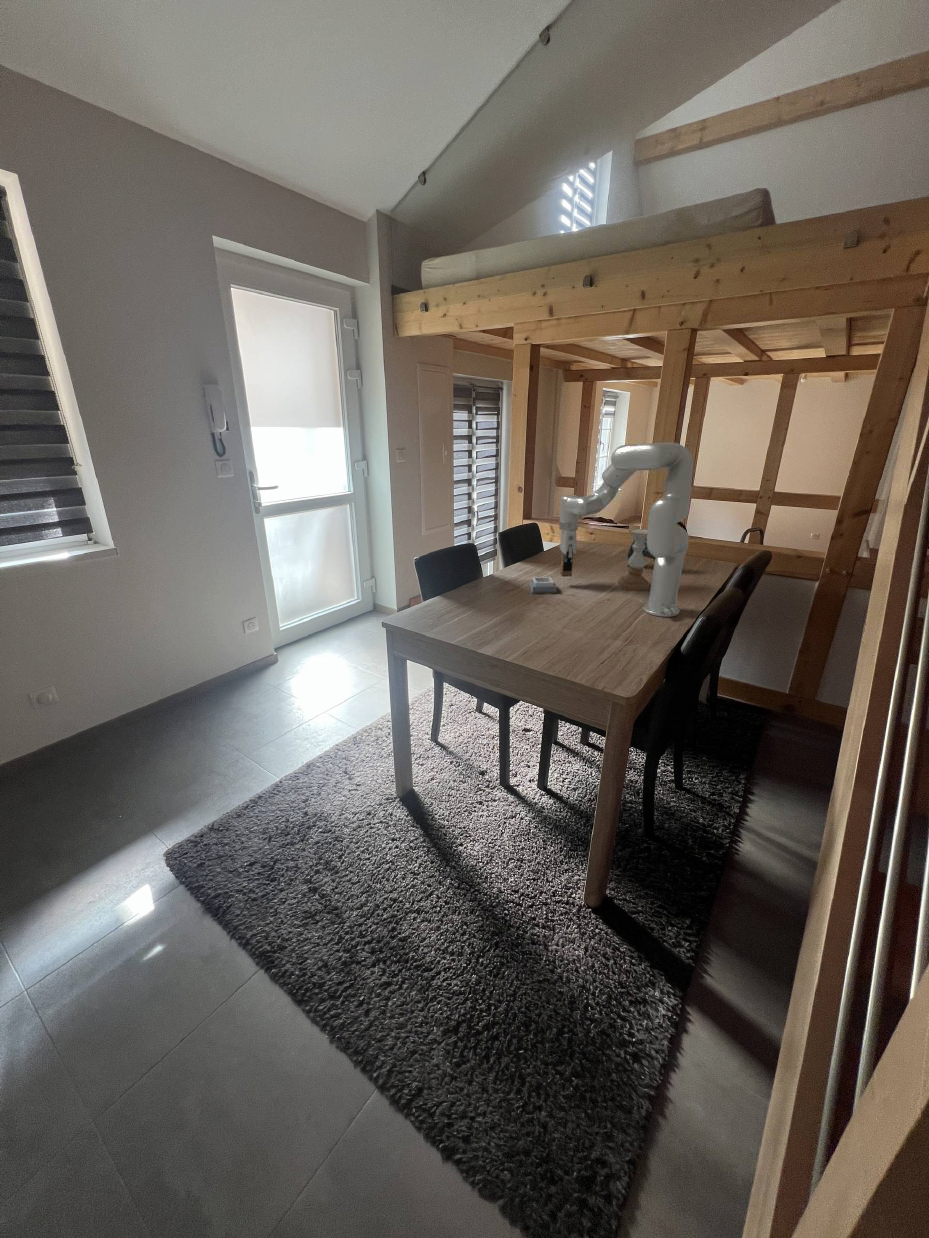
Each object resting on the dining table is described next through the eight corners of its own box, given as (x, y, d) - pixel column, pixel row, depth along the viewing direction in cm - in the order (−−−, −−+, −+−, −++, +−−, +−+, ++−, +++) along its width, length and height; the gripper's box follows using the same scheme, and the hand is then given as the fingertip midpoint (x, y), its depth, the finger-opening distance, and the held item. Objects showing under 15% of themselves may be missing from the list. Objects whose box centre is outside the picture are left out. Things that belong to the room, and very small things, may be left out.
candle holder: (650, 590, 207) (658, 534, 198) (624, 590, 207) (631, 534, 198) (642, 582, 217) (649, 528, 208) (617, 582, 217) (623, 528, 208)
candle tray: (556, 593, 203) (557, 583, 201) (532, 593, 203) (532, 583, 201) (552, 586, 212) (552, 576, 210) (528, 586, 212) (529, 576, 210)
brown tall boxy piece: (571, 576, 208) (573, 548, 204) (562, 576, 208) (563, 548, 204) (569, 573, 212) (571, 546, 208) (560, 574, 212) (561, 546, 207)
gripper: (582, 529, 195) (579, 574, 201) (573, 522, 210) (570, 564, 217) (563, 530, 195) (561, 574, 201) (555, 522, 210) (553, 564, 217)
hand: (566, 568), depth 209 cm, fingers closed on brown tall boxy piece, 3 cm apart
